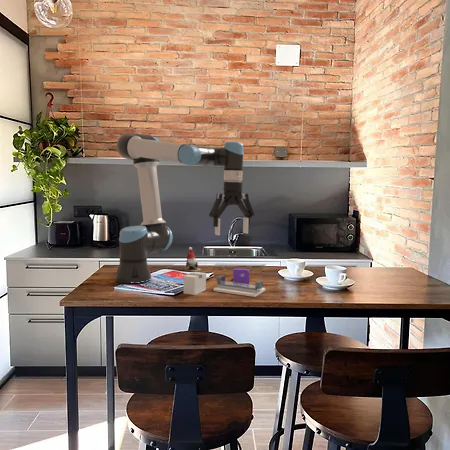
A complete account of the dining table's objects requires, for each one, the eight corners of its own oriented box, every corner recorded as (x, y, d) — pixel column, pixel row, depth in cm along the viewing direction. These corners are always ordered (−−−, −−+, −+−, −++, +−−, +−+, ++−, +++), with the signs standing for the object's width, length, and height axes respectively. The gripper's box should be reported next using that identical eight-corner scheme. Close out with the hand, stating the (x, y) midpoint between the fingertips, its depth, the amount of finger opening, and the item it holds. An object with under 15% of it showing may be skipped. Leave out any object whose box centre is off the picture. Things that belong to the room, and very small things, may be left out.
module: (183, 293, 167) (183, 275, 167) (195, 288, 175) (195, 271, 175) (194, 295, 165) (194, 277, 164) (205, 290, 173) (206, 272, 172)
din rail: (215, 286, 174) (215, 277, 173) (222, 283, 179) (222, 274, 179) (258, 293, 166) (258, 283, 165) (263, 289, 171) (264, 280, 171)
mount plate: (213, 290, 172) (213, 288, 171) (225, 285, 181) (225, 282, 181) (254, 296, 164) (255, 294, 164) (265, 290, 173) (265, 288, 173)
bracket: (249, 285, 182) (249, 270, 182) (232, 285, 183) (233, 269, 182) (248, 279, 194) (249, 264, 193) (233, 278, 194) (234, 263, 194)
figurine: (198, 265, 203) (183, 247, 208) (188, 279, 208) (174, 261, 212) (209, 262, 210) (194, 245, 215) (198, 276, 214) (184, 259, 219)
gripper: (210, 181, 161) (209, 237, 163) (263, 182, 174) (261, 233, 176) (201, 180, 167) (200, 234, 169) (252, 181, 180) (251, 231, 183)
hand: (231, 234), depth 173 cm, fingers open, 13 cm apart
